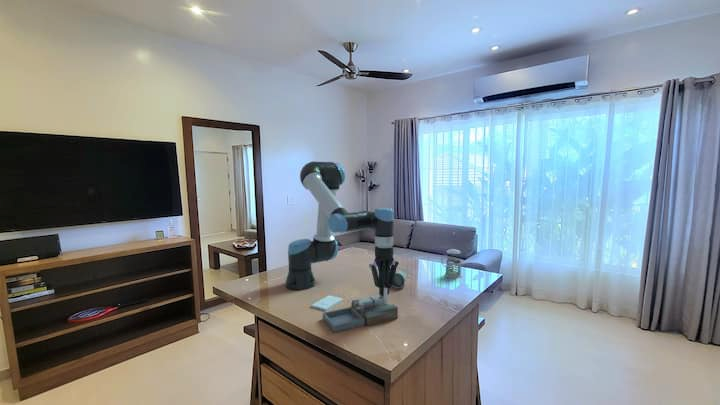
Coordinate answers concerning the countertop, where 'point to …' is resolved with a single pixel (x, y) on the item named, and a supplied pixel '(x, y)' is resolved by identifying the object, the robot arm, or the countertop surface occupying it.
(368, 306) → the aluminium chip
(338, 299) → the external hard drive
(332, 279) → the countertop surface
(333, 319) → the chip tray
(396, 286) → the ceramic mug
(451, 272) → the french press
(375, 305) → the aluminium chip
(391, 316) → the slot board
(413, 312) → the countertop surface
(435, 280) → the countertop surface
